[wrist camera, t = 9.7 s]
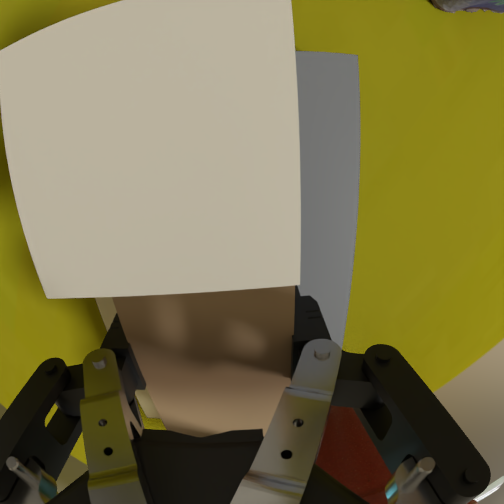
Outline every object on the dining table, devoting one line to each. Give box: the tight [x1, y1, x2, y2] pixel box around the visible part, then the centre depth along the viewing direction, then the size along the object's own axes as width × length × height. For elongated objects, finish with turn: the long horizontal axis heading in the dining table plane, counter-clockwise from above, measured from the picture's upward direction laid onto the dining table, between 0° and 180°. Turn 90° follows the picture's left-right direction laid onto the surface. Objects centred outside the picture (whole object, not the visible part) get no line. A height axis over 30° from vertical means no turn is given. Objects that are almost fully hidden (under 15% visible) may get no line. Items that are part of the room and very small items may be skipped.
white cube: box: [0, 0, 301, 299], centre depth 5 cm, size 4×4×4 cm
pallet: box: [112, 285, 295, 437], centre depth 12 cm, size 20×6×4 cm, turn 3°
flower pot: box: [315, 406, 478, 504], centre depth 21 cm, size 16×16×16 cm
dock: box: [95, 51, 360, 418], centre depth 17 cm, size 21×13×5 cm, turn 3°
